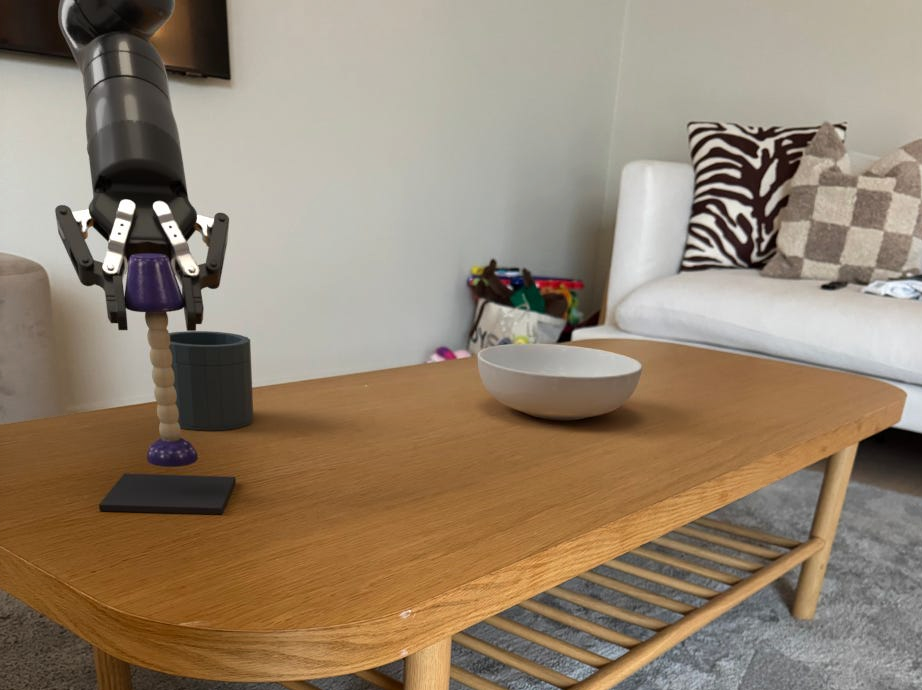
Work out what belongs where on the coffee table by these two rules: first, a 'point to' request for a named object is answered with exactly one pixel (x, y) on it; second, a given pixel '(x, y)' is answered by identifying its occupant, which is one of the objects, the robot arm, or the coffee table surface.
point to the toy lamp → (160, 350)
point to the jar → (212, 380)
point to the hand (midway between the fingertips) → (157, 323)
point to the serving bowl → (558, 379)
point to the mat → (169, 494)
